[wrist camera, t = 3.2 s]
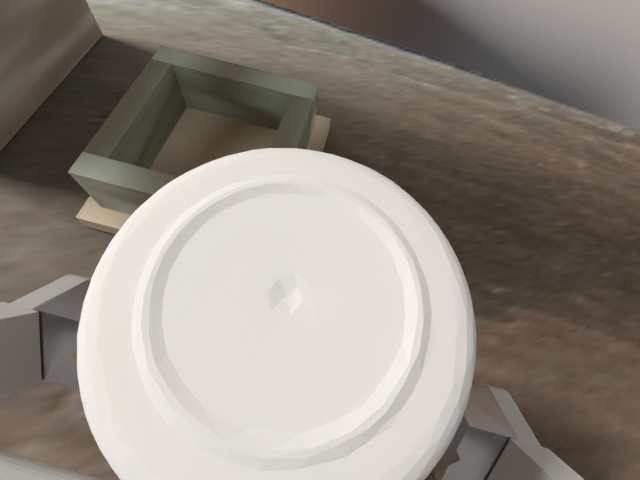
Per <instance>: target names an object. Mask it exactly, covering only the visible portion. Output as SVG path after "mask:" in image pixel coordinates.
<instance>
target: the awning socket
mask: <svg viewBox="0 0 640 480" xmlns="http://www.w3.org/2000/svg"><path fill="white" fill-rule="evenodd" d="M102 35H103V34H102V32H101V30H100V28H99V26H98V24H97V22H96V20H95V18H94V16H93V14H92V12H91V10H90V8H89V6H88V4H87V2H86V0H0V151H1V150H2V149H3V148H4V147H5V146H6V145H7V143H8V142H9V141H10V140H11V139H12V138H13V137H14V135H15V134H16V133H17V132H18V131H19V130H20V129H21V127H22V126H23V125H24V124H25V123H26V122H27V121H28V120H29V118H30V117H31V116H32V115H33V114H34V113H35V112H36V110H37V109H38V108H39V107H40V106H41V105H42V104H43V102H44V101H45V100H46V99H47V98H48V97H49V96H50V94H51V93H52V92H53V91H54V90H55V89H56V88H57V87H58V85H59V84H60V83H61V82H62V81H63V80H64V79H65V77H66V76H67V75H68V74H69V73H70V72H71V71H72V69H73V68H74V67H75V66H76V65H77V64H78V63H79V62H80V60H81V59H82V58H83V57H84V56H85V55H86V54H87V52H88V51H89V50H90V49H91V48H92V47H93V46H94V44H95V43H96V42H97V41H98V40H99V39H100V38H101V36H102ZM318 86H319V85H316V84H312V83H308V82H304V81H300V80H296V79H292V78H288V77H284V76H280V75H276V74H272V73H268V72H264V71H261V70H257V69H253V68H249V67H245V66H241V65H237V64H233V63H229V62H225V61H221V60H217V59H213V58H209V57H205V56H201V55H197V54H193V53H189V52H185V51H181V50H177V49H173V48H169V47H165V46H160V47H159V48H158V50H157V51H156V52H155V54H154V55H153V57H152V58H151V59H150V61H149V62H148V63H147V65H146V66H145V67H144V69H143V70H142V72H141V73H140V74H139V76H138V77H137V78H136V80H135V81H134V82H133V84H132V85H131V86H130V88H129V89H128V91H127V92H126V93H125V95H124V96H123V97H122V99H121V100H120V101H119V103H118V104H117V106H116V107H115V108H114V110H113V111H112V112H111V114H110V115H109V116H108V118H107V119H106V121H105V122H104V123H103V125H102V126H101V127H100V129H99V130H98V131H97V133H96V134H95V136H94V137H93V138H92V140H91V141H90V142H89V144H88V145H87V146H86V148H85V149H84V151H83V152H82V153H81V155H80V156H79V157H78V159H77V160H76V161H75V163H74V164H73V165H72V167H71V168H70V170H69V171H68V173H69V174H70V175H71V176H72V177H73V178H74V179H75V180H76V181H77V183H78V184H79V185H80V186H81V187H82V188H83V189H84V190H85V191H86V192H87V193H88V194H89V195H90V196H89V198H88V199H87V201H86V202H85V204H84V205H83V207H82V208H81V210H80V211H79V213H78V214H77V216H76V217H75V218H77V219H78V220H79V221H80V222H81V223H82V224H83V225H85V226H86V227H89V228H93V229H97V230H101V231H105V232H108V233H112V234H117V232H118V231H119V230H120V229H121V227H122V226H123V225H124V223H125V222H126V221H127V220H128V219H129V217H130V216H131V215H132V214H133V213H134V212H135V211H136V210H137V209H138V208H139V207H140V206H141V205H142V204H143V203H144V202H145V201H147V200H148V199H149V198H150V197H151V196H152V195H154V194H155V193H156V192H157V191H158V190H159V189H161V188H162V187H164V186H165V185H166V184H168V183H169V182H171V181H173V180H174V179H176V178H178V177H179V176H181V175H183V174H185V173H186V172H188V171H190V170H193V169H195V168H197V167H199V166H201V165H203V164H206V163H208V162H211V161H213V160H216V159H219V158H222V157H225V156H228V155H233V154H237V153H241V152H246V151H250V150H256V149H266V148H298V149H307V150H314V151H319V152H323V149H324V145H325V142H326V139H327V136H328V133H329V129H330V123H331V118H327V117H323V116H319V115H316V105H317V96H318Z"/></svg>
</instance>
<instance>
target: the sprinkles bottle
mask: <svg viewBox="0 0 640 480" xmlns="http://www.w3.org/2000/svg"><path fill="white" fill-rule="evenodd" d="M475 362H476V324H475V318H474V311H473V305H472V299H471V295H470V291H469V287H468V284H467V281H466V278H465V275H464V273H463V270H462V267H461V265H460V263H459V260H458V258H457V256H456V254H455V252H454V251H453V249H452V247H451V245H450V243H449V241H448V240H447V238H446V237H445V235H444V234H443V232H442V231H441V229H440V228H439V226H438V225H437V224H436V222H435V221H434V220H433V219H432V217H431V216H430V215H429V214H428V213H427V212H426V211H425V209H424V208H423V207H422V206H421V205H420V204H419V203H418V202H417V201H416V200H415V199H414V198H412V197H411V196H410V195H409V194H408V193H407V192H405V191H404V190H403V189H402V188H400V187H399V186H398V185H397V184H395V183H394V182H393V181H391V180H390V179H388V178H386V177H385V176H383V175H381V174H380V173H378V172H376V171H374V170H372V169H371V168H369V167H366V166H364V165H361V164H359V163H356V162H354V161H352V160H349V159H346V158H343V157H340V156H336V155H333V154H329V153H324V152H319V151H314V150H307V149H298V148H266V149H256V150H250V151H246V152H241V153H237V154H233V155H228V156H225V157H222V158H219V159H216V160H213V161H211V162H208V163H206V164H203V165H201V166H199V167H197V168H195V169H193V170H190V171H188V172H186V173H185V174H183V175H181V176H179V177H178V178H176V179H174V180H173V181H171V182H169V183H168V184H166V185H165V186H164V187H162V188H161V189H159V190H158V191H157V192H156V193H155V194H154V195H152V196H151V197H150V198H149V199H148V200H147V201H145V202H144V203H143V204H142V205H141V206H140V207H139V208H138V209H137V210H136V211H135V212H134V213H133V214H132V215H131V216H130V217H129V219H128V220H127V221H126V222H125V223H124V225H123V226H122V227H121V229H120V230H119V231H118V232H117V234H116V235H115V236H114V238H113V239H112V241H111V242H110V244H109V246H108V247H107V249H106V251H105V252H104V254H103V256H102V258H101V260H100V262H99V263H98V265H97V268H96V270H95V272H94V274H93V276H92V279H91V282H90V285H89V288H88V291H87V293H86V296H85V299H84V302H83V307H82V312H81V317H80V322H79V327H78V333H77V376H78V382H79V388H80V393H81V399H82V403H83V407H84V411H85V415H86V418H87V421H88V424H89V426H90V429H91V432H92V434H93V436H94V438H95V440H96V442H97V444H98V446H99V449H100V450H101V452H102V453H103V455H104V457H105V458H106V460H107V461H108V463H109V464H110V466H111V468H112V469H113V470H114V472H115V473H116V474H117V476H118V477H119V478H120V480H425V479H426V477H427V476H428V475H429V474H430V473H431V471H432V470H433V468H434V467H435V466H436V464H437V463H438V462H439V460H440V459H441V457H442V456H443V454H444V453H445V451H446V449H447V447H448V446H449V444H450V442H451V441H452V439H453V437H454V435H455V433H456V431H457V429H458V427H459V425H460V423H461V421H462V417H463V414H464V410H465V409H466V406H467V402H468V399H469V395H470V391H471V387H472V381H473V374H474V368H475Z"/></svg>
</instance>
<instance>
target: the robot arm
mask: <svg viewBox="0 0 640 480" xmlns="http://www.w3.org/2000/svg"><path fill="white" fill-rule="evenodd" d="M90 282H91V279H89V278H85V277H81V276H77V275H66V276H64V277H62V278H60V279H58V280H56V281H54V282H52V283H50V284H48V285H46V286H44V287H42V288H40V289H38V290H36V291H34V292H32V293H30V294H28V295H26V296H24V297H22V298H20V299H18V300H16V301H14V302H12V303H10V304H9V303H5V302H0V400H2V399H5V398H7V397H9V396H12V395H14V394H16V393H18V392H21V391H23V390H25V389H28V388H30V387H32V386H34V385H37V384H39V383H41V382H42V380H43V381H47V382H51V383H56V384H60V385H64V386H68V387H72V388H77V389H80V388H79V382H78V376H77V333H78V327H79V322H80V317H81V312H82V307H83V302H84V299H85V296H86V293H87V291H88V288H89V285H90ZM433 469H434V473H435V477H436V480H584V479H583V478H582V477H581V476H580V475H578V474H577V473H576V472H575V471H574V470H573V469H572V468H570V467H569V466H568V465H567V464H566V463H565V462H563V461H562V460H561V459H560V458H559V457H558V456H556V455H555V454H554V453H553V452H552V451H551V450H549V449H548V448H545V447H541V445H540V444H539V442H538V440H537V439H536V437H535V435H534V434H533V432H532V430H531V429H530V427H529V425H528V424H527V422H526V420H525V419H524V417H523V415H522V414H521V412H520V410H519V409H518V407H517V405H516V404H515V402H514V400H513V399H512V397H511V395H510V394H509V393H508V392H507V391H506V390H505V389H502V388H498V387H493V386H489V385H485V384H484V385H483V384H479V383H475V382H472V387H471V391H470V395H469V399H468V402H467V406H466V409H465V410H464V414H463V417H462V421H461V423H460V425H459V427H458V429H457V431H456V433H455V435H454V437H453V439H452V441H451V442H450V444H449V446H448V447H447V449H446V451H445V453H444V454H443V456H442V457H441V459H440V460H439V462H438V463H437V464H436V466H435V467H434V468H433ZM0 480H101V479H98V478H94V477H91V476H87V475H83V474H80V473H76V472H72V471H69V470H65V469H62V468H58V467H54V466H51V465H47V464H43V463H40V462H36V461H33V460H29V459H25V458H22V457H18V456H14V455H11V454H7V453H4V452H0Z"/></svg>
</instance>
